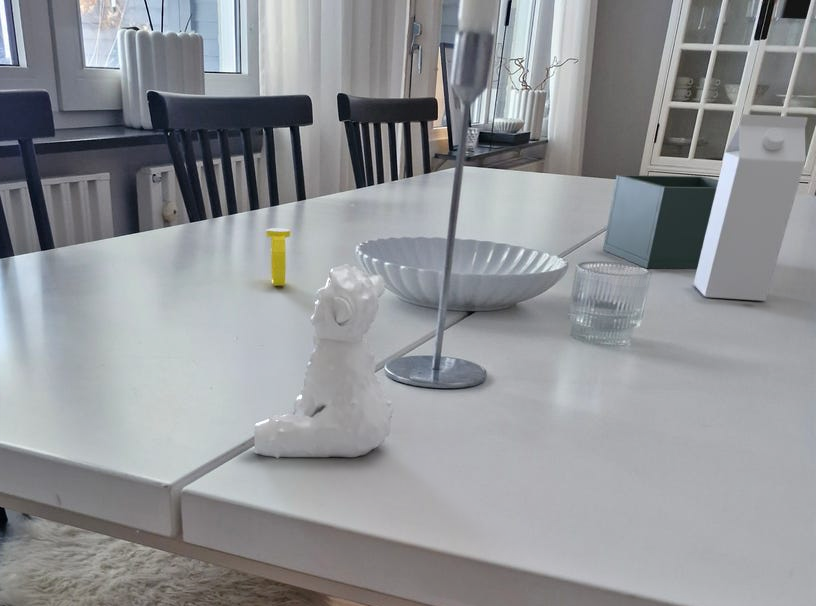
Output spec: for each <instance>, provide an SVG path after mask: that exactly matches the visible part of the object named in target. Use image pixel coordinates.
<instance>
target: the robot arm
mask: <svg viewBox="0 0 816 606" xmlns="http://www.w3.org/2000/svg"><path fill="white" fill-rule="evenodd" d="M811 2H812V0H784V1H783V5H782V9H781V12H780V17H779V18H780V19H789V20H807V18H808V14H809V10H810V6H811V4H812V3H811Z"/></svg>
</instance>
